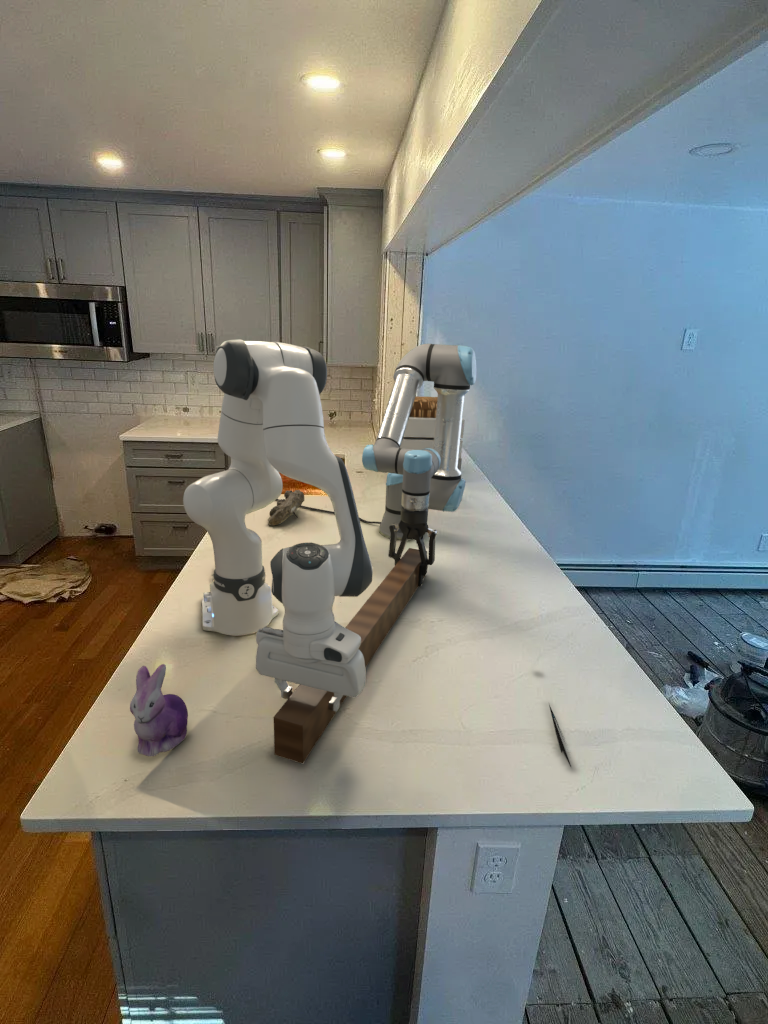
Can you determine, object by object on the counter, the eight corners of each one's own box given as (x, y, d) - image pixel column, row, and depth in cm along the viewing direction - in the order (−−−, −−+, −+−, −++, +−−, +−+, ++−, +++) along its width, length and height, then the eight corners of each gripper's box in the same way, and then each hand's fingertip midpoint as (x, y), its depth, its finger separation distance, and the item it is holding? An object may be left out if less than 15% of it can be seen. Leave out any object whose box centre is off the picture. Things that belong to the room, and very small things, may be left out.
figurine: (137, 767, 96) (127, 693, 90) (132, 728, 104) (122, 659, 99) (195, 750, 100) (189, 678, 95) (185, 714, 108) (179, 646, 103)
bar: (407, 572, 171) (409, 547, 168) (425, 576, 169) (427, 551, 166) (274, 754, 100) (273, 716, 97) (302, 763, 98) (302, 725, 95)
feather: (538, 678, 126) (544, 672, 125) (570, 771, 99) (578, 764, 99) (532, 674, 126) (537, 668, 125) (563, 766, 99) (570, 759, 98)
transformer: (382, 463, 289) (386, 382, 275) (445, 464, 293) (451, 384, 279) (390, 482, 257) (394, 392, 243) (460, 483, 261) (468, 394, 247)
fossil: (273, 495, 220) (302, 475, 215) (290, 514, 223) (319, 494, 218) (257, 521, 200) (288, 499, 195) (275, 541, 203) (306, 520, 198)
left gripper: (246, 633, 98) (250, 700, 103) (356, 658, 92) (355, 727, 97) (265, 616, 104) (268, 680, 108) (369, 638, 98) (368, 704, 102)
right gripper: (378, 506, 155) (375, 582, 163) (444, 516, 150) (437, 594, 158) (387, 498, 162) (383, 571, 170) (451, 508, 156) (444, 583, 164)
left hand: (310, 702), depth 103 cm, fingers open, 8 cm apart
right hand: (409, 582), depth 164 cm, fingers closed on bar, 6 cm apart
